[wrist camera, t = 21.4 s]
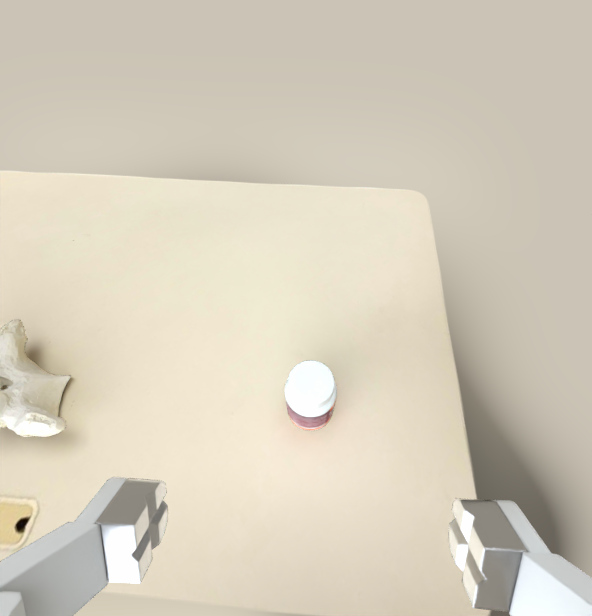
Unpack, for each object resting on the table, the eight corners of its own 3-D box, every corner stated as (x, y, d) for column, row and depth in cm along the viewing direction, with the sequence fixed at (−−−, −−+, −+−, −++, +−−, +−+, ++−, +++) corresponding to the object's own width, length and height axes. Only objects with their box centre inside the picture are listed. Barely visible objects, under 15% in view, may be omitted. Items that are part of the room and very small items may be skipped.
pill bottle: (337, 426, 36) (345, 403, 29) (291, 435, 36) (288, 414, 29) (326, 382, 39) (332, 351, 32) (283, 390, 39) (279, 361, 31)
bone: (45, 348, 43) (6, 304, 37) (115, 416, 38) (83, 379, 32) (-35, 402, 38) (-96, 362, 32) (32, 488, 33) (-25, 461, 27)
